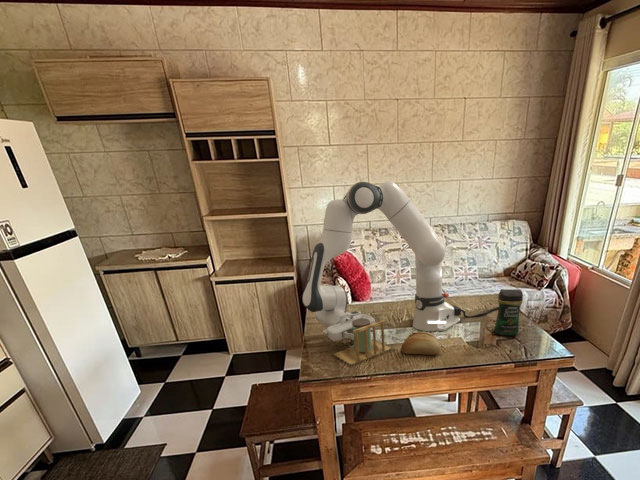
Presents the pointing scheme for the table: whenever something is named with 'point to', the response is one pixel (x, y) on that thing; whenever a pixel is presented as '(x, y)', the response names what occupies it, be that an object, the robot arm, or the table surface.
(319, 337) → the table surface
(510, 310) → the coffee jar
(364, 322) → the tumbler
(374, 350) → the dish rack
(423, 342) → the bread roll
